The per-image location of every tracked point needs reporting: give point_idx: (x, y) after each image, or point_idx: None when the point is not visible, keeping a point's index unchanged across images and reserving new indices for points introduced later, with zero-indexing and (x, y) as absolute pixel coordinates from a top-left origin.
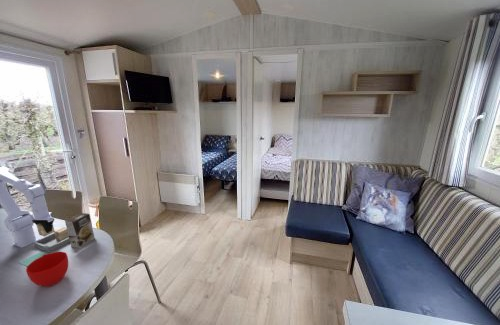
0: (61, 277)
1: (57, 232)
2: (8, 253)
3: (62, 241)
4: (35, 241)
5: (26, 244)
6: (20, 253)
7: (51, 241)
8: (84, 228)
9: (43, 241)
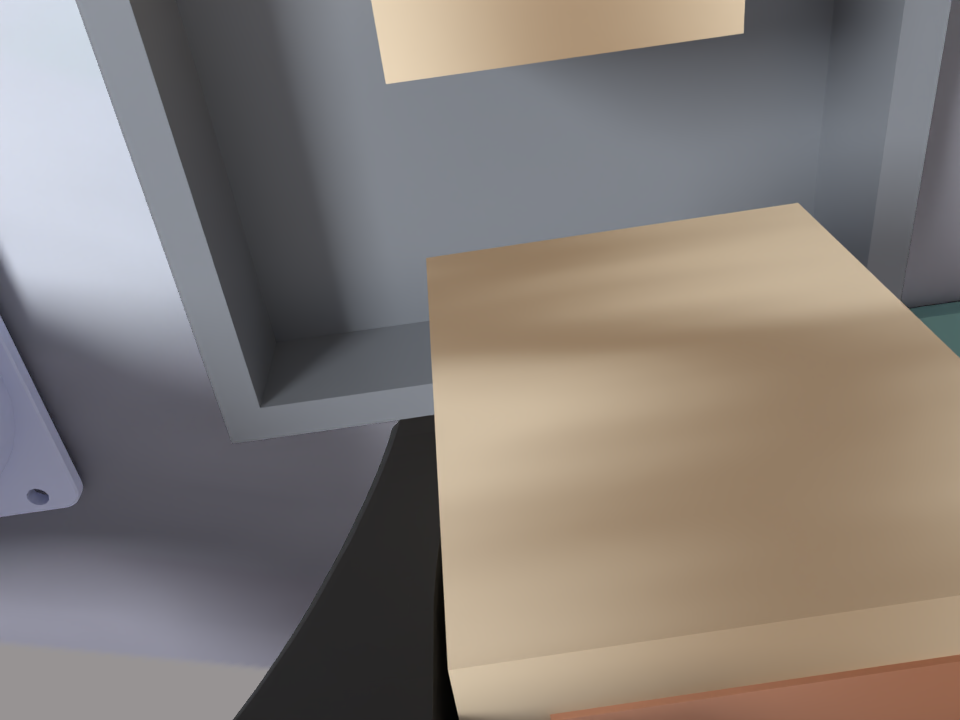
0: None
1: (639, 45)
2: (103, 620)
3: (943, 48)
4: (230, 407)
5: (15, 440)
6: (288, 537)
7: (348, 102)
8: None
9: (233, 237)
